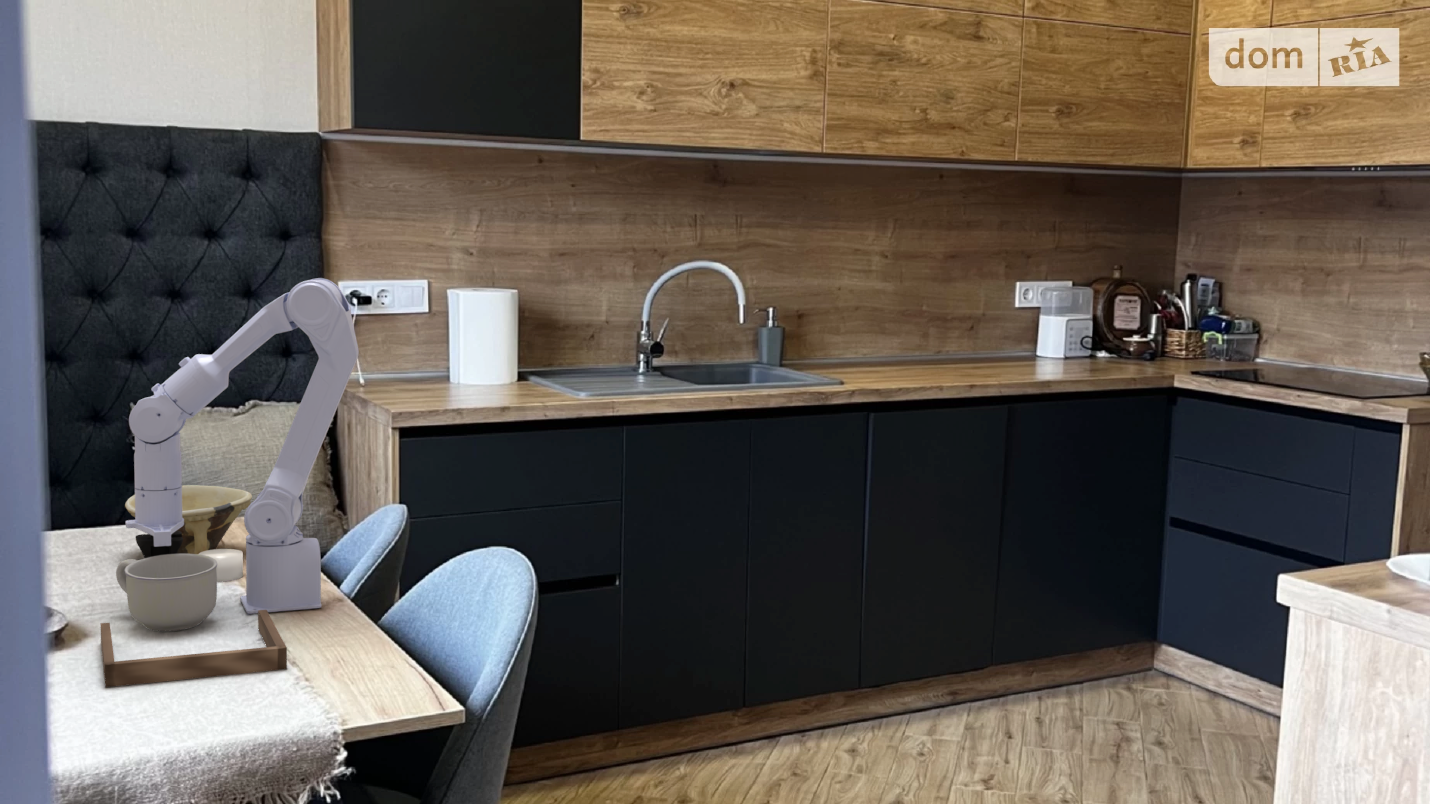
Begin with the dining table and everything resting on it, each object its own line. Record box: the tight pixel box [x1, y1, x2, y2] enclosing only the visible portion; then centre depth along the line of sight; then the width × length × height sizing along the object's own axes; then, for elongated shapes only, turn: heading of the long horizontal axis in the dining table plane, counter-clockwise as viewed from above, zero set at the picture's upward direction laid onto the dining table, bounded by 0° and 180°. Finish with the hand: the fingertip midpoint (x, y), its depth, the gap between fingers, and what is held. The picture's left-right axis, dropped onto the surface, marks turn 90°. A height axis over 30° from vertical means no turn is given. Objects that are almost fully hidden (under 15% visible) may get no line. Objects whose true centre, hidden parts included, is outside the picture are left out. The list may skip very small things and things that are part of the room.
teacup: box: [115, 554, 218, 632], centre depth 171 cm, size 14×11×8 cm
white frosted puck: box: [199, 548, 244, 583], centre depth 195 cm, size 6×6×4 cm
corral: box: [100, 610, 288, 688], centre depth 159 cm, size 19×17×2 cm
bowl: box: [124, 484, 253, 554], centre depth 206 cm, size 18×18×10 cm
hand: (159, 588), depth 179 cm, fingers closed
